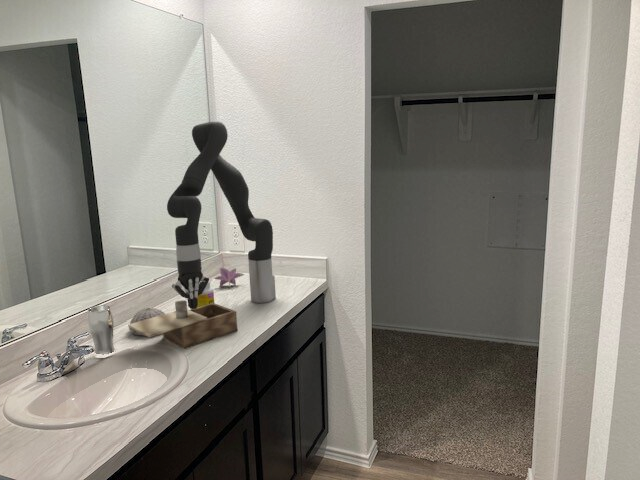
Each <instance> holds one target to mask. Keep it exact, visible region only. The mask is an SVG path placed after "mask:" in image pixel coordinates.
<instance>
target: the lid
mask: <svg viewBox="0 0 640 480" xmlns="http://www.w3.org/2000/svg"><path fill="white" fill-rule="evenodd" d="M174 304H175V305H174V306H175V310H174V311H172V312H168V313H165V314H164V315H160V316H157V317H153V318H149V319H146V320H142V321H139V322H135V323H132V324H130V323H128V325H127V326H128V328H129V327H131V328H132V329H134V330H136V331H138V332H140V333H142V334H143V335H144V336H146V338H151V337H154V336H157V335H162V334H163V333H164V332H168V331H171V330H174V329H177V328H181V327H184V326H187V325H190V324H194V323H197V322H200V321H203V320H207V317H204V316H202V315H200V314H197V313H195V312H192V311H190V310H191V309H188V300H183V299H182V300H176V301H175V302H174ZM143 335H142V336H143Z"/></svg>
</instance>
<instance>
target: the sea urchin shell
mask: <svg viewBox="0 0 640 480" xmlns="http://www.w3.org/2000/svg"><path fill="white" fill-rule="evenodd" d="M164 314H166V313H165V312H164V311H162V310H161V309H159V308H156V307H147V308H143V309H140V310H138V311H137V312H136V313H135V314H134V315H133V317H132V318H131V321H130V322H129V324H132V323H135V322H139V321H142V320H146V319H149V318H153V317H157V316H160V315H164ZM128 329H129V331H130V332H131V334H133V335H135V336H145V335H143V334H142V333H140V332H138V331H136V330H134V329H132V328H131V327H129V326H128Z"/></svg>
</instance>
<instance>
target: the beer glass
mask: <svg viewBox="0 0 640 480" xmlns="http://www.w3.org/2000/svg"><path fill="white" fill-rule="evenodd" d="M87 322H88V323H87V324H88V329H89V333H90V336H91V338H92V342H93V344H94V353H96V354H102V355H104V354H109V353H112V352H114V350H115V351H116V348H115V346H114V338H113V337H114V317H113V311H112V307H111V306H110V305H108V304H105V305H103V304H101V305H96V306H95V305H94V306H92V307H90V308H88V309H87Z"/></svg>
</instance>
